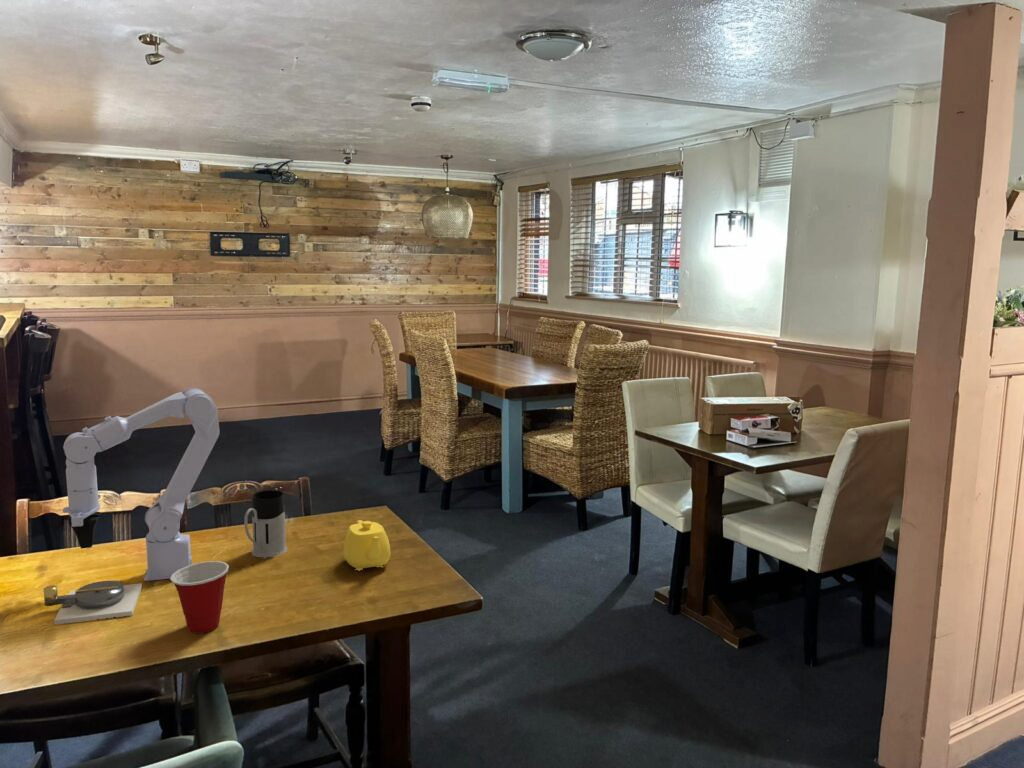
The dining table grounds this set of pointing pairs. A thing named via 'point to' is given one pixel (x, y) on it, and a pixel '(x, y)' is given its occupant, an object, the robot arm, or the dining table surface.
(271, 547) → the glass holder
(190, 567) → the plastic cup
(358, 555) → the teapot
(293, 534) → the dining table surface
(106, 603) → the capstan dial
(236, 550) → the dining table surface
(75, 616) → the white square board
